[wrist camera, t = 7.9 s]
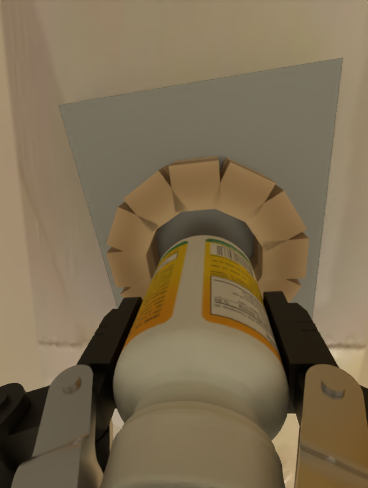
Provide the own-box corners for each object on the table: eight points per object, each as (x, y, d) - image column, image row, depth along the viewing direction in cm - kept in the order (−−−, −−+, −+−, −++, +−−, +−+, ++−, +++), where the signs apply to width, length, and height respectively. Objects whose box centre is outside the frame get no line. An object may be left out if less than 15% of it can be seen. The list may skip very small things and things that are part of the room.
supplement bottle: (251, 227, 12) (363, 469, 3) (253, 311, 14) (326, 595, 5) (148, 237, 13) (16, 454, 4) (165, 316, 15) (103, 569, 6)
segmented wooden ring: (106, 169, 16) (84, 176, 13) (296, 146, 14) (317, 148, 11) (141, 312, 21) (130, 339, 18) (286, 308, 19) (299, 337, 16)
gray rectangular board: (71, 107, 16) (58, 105, 14) (329, 65, 14) (342, 57, 12) (133, 335, 24) (129, 347, 22) (302, 332, 22) (309, 345, 20)
